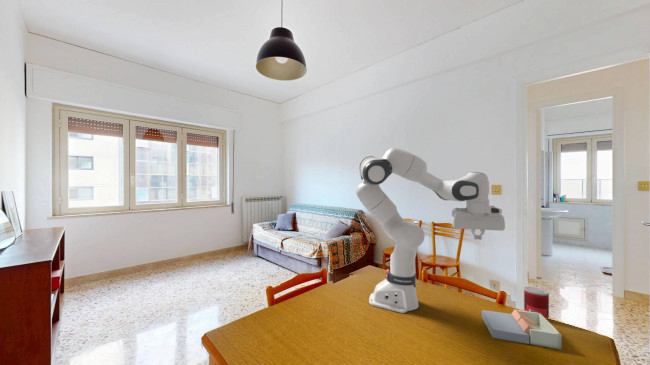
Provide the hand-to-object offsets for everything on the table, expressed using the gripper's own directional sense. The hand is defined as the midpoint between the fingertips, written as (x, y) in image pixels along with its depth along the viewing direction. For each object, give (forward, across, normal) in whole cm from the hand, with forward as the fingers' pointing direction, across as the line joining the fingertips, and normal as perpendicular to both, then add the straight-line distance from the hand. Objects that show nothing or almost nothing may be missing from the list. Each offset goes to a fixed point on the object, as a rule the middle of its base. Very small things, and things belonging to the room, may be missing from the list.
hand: (477, 239), depth 113 cm
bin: (+31, +16, -15) cm, 38 cm away
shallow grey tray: (+31, +5, -15) cm, 35 cm away
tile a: (+29, +13, -11) cm, 34 cm away
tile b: (+29, +12, -18) cm, 37 cm away
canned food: (+31, +22, +1) cm, 38 cm away
